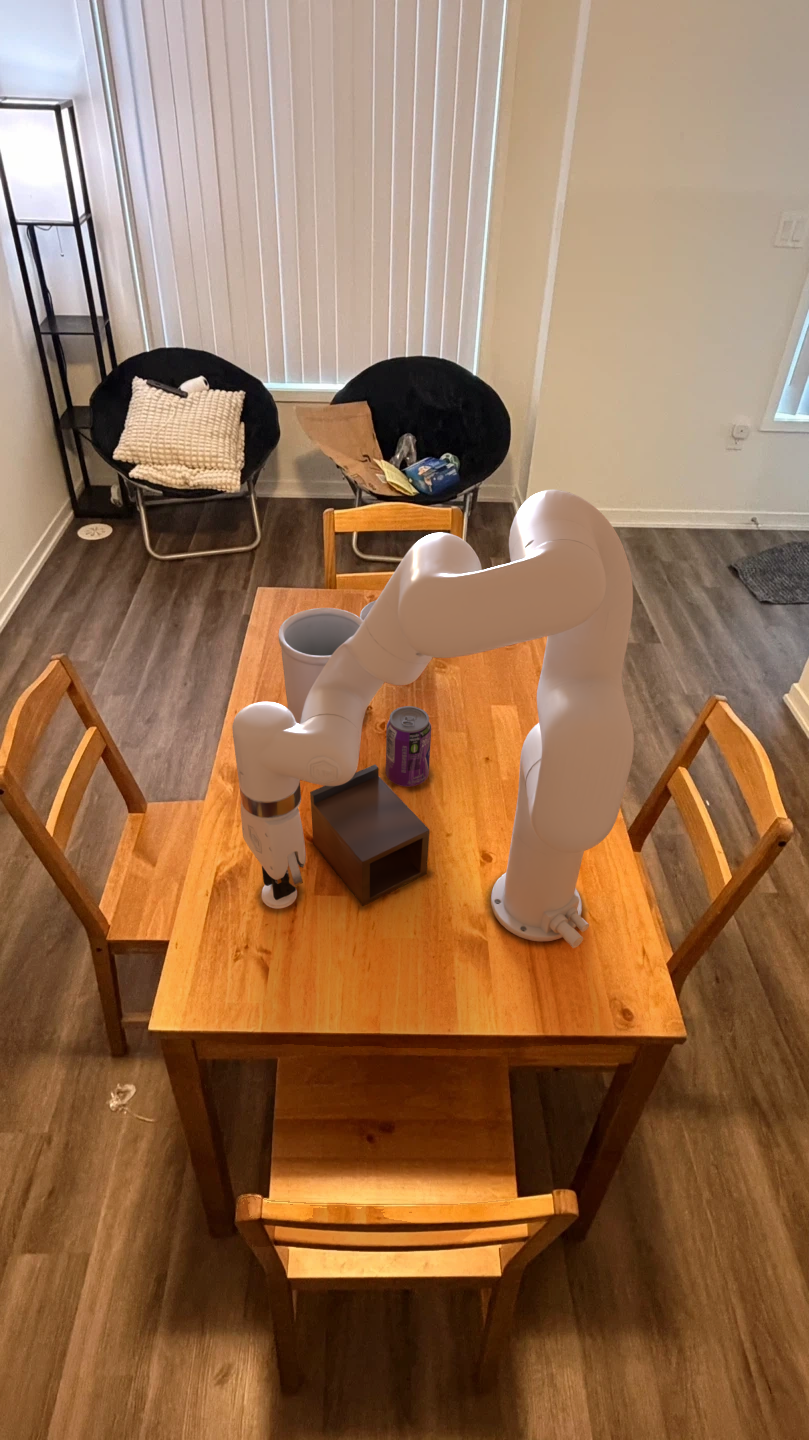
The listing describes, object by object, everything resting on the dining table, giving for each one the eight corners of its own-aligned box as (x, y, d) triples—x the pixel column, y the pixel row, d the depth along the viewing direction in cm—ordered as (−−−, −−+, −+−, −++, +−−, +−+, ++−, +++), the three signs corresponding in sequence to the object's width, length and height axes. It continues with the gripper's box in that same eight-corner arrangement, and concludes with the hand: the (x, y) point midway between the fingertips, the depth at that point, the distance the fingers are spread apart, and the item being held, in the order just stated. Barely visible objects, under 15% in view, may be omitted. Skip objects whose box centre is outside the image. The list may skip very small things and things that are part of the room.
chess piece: (264, 880, 122) (259, 832, 115) (298, 881, 122) (295, 833, 116) (259, 908, 118) (253, 860, 112) (294, 909, 118) (291, 861, 112)
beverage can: (424, 793, 137) (427, 735, 129) (381, 786, 138) (381, 728, 130) (432, 764, 142) (435, 707, 135) (390, 757, 143) (391, 701, 136)
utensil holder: (348, 749, 145) (347, 664, 134) (270, 727, 149) (262, 644, 138) (380, 700, 156) (382, 618, 145) (306, 681, 159) (302, 600, 148)
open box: (426, 873, 124) (430, 821, 117) (362, 906, 119) (362, 854, 112) (374, 815, 133) (375, 763, 126) (312, 844, 128) (309, 791, 121)
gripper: (216, 766, 111) (230, 862, 122) (273, 843, 101) (282, 939, 112) (268, 746, 114) (277, 841, 126) (328, 818, 104) (332, 914, 116)
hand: (279, 886), depth 119 cm, fingers closed on chess piece
